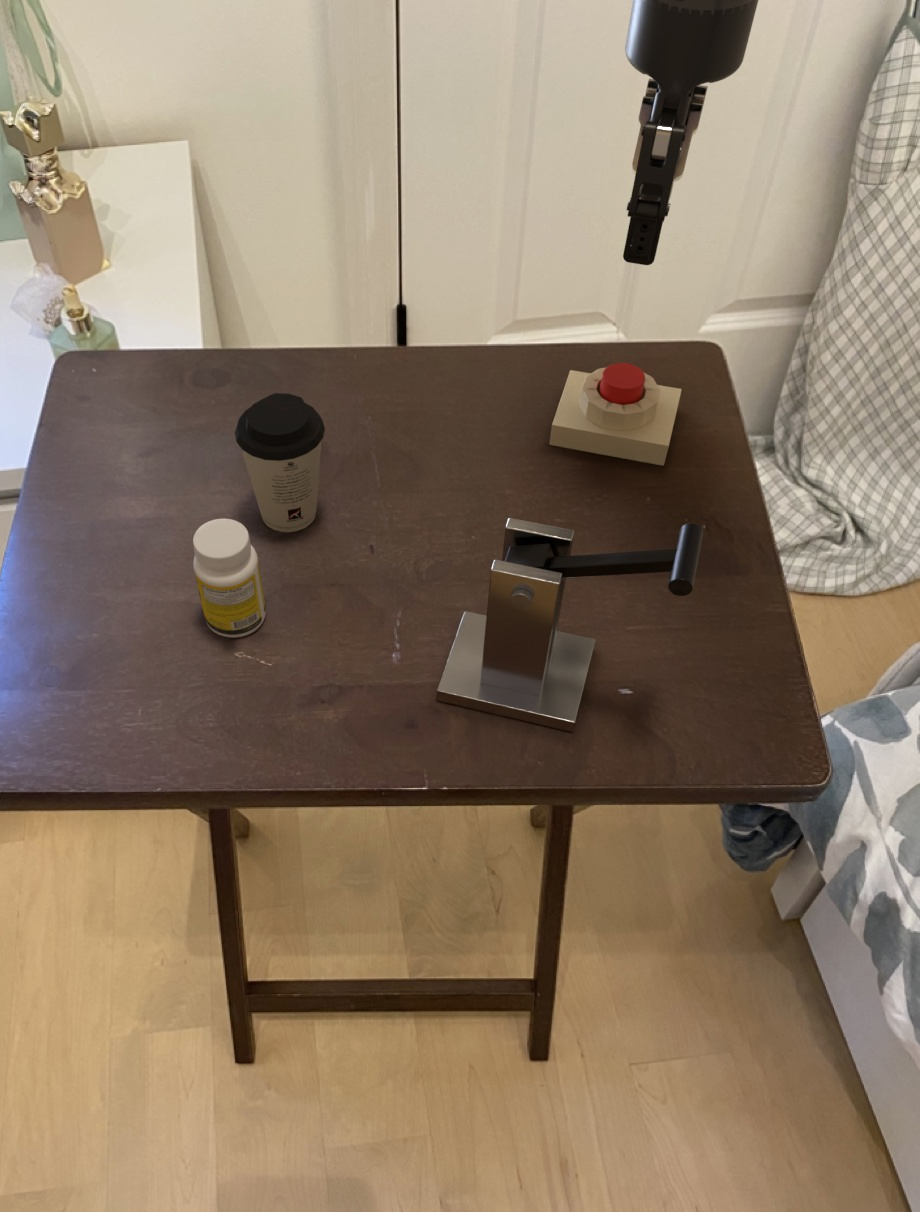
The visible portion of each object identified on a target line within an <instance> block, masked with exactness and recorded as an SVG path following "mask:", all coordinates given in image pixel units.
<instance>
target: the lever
mask: <svg viewBox="0 0 920 1212" xmlns="http://www.w3.org/2000/svg"><path fill="white" fill-rule="evenodd" d="M703 538H704V529H703V527H702V526H700V525H699V524H697V523H694V522H689V523H685V524H683V525H682V526H681V527H680V528H679V532H678V536H677V541H676V546H675V548H659V549H647V550H645V549H644V550H633V551H631V550H630V551H618V552H604V553H590V554H576V555H574V554H573V555H570V556H560V557H554V555H553V552H552V549H551V546H550V544H549V543H547V544H534V545H522V546H510V547H509V550H508V553H507V556H506V559H505V562H510V563H515V564H520V565H525V566H529V567H534V568H539V569H544V570H549V571H554V572H558V573H562V578H566V579H574V578H575V579H576V578H589V577H590V578H591V577H605V576H607V577H608V576H620V575H621V576H622V575H638V574H639V575H640V574H654V573H655V574H657V573H670V575H669V580H668V585H667V588H668V591H669V592H670V593H671V594H673V595H674V596H678V597H685V596H688V595H690V594H691V593H692V592H693V590H694V586H695V581H696V580H695V579H696V574H697V568H698V563H699V559H700V553H701V548H702V542H703Z"/></svg>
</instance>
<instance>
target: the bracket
mask: <svg viewBox="0 0 920 1212" xmlns="http://www.w3.org/2000/svg"><path fill="white" fill-rule="evenodd" d="M574 536H575V530H573V529H568V528H563V527H559V526H553V525H548V524H544V523H543V524H542V523H538V522H534V521H528V520H524V519H518V518H514V517H513V518H512V517H509V518H507V521H506V525H505V530H504V537H503V539H504V540H503V547H502V556H501V559H500V560H499V559H494V560H493V562H492V566H491V567H490V574H489V586H488V587H489V588H488V597H487V605H486V606H487V607H486V615H485V614H481V613H476V612H472V611H468V610H464V612H463V615H462V618H461V621H460V623H459V626H458V629H457V632H456V635H455V638H454V641H453V642H452V643H453V644H452V647H451V648H450V652H449V655H448V658H447V660H446V664H445V666H444V669H443V672H442V674H441V678H440V680H439V684H438V687H437V688H436V701H437V702H441V703H445V704H449V705H450V704H451V705H455V706H458V707H464V708H467V709H471V710H476V711H480V712H485V713H489V714H493V715H497V716H501V717H506V718H511V719H514V720H518V721H524V722H527V723H532V724H536V725H540V726H544V727H548V728H552V729H557V730H562V731H565V732H570V733H573V732H574V729H575V725H576V722H577V718H578V715H579V709H580V705H581V702H582V698H583V694H584V691H585V690H584V689H585V685H586V683H587V682H586V681H587V677H588V673H589V669H590V665H591V662H592V657H593V653H594V650H595V645H596V638H592V637H587V636H583V635H579V634H573V633H569V632H564V631H559V630H558V628H559V622H560V616H561V612H562V605H563V599H564V593H565V587H566V582H567V578H562V573H558V572H554V571H549V570H544V569H539V568H534V567H529V566H525V565H520V564H515V563H510V562H505V559H506V556H507V553H508V550H509V547H510V546H522V545H534V544H547V543H549V544H550V546H551V549H552V552H553V555H554V557H560V556H571V554H572V548H573V543H574Z"/></svg>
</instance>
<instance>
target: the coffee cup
mask: <svg viewBox="0 0 920 1212" xmlns="http://www.w3.org/2000/svg"><path fill="white" fill-rule="evenodd" d="M325 431H326V427H325V423H324V419H323V418H322V416H320V414H319V413H318V411H317V410H316V409H315V407H313V406H312V405H309V404H308V403H306V402H305V401H304V399H303V398H302V396H298V395H295V394H292V393H283V392H282V393H281V392H280V393H279V392H274V393H272V394H269V395H267V396H266V397H263V398H262V399H259V401H256V402H254V403H253V404H252V405H251V406H250V407H248V408H247V409H245V411H244V412H243V413H242V414H241V415H240V417H238V420H237V423H236V427H235V430H234V437H235V442H236V444H237V445H238V446H239V447H240V449H241V452H242V455H243V459H244V463H245V466H246V469H247V472H248V475H249V479H250V482H251V486H252V489H253V493H254V496H255V500H256V502H257V505H258V508H259V512H260V515H261V519H262V521H263V523H264V524H265V525H266V526H267V527H268V528H270V529H271V530H273V531H277V532H280V533H293V532H299V531H301V530H304V529H306V528H307V527H309V526H310V525H311V524H312V523H313V521H314V520H315V519H316V517H317V516H316V515H317V510H318V496H319V494H318V493H319V481H320V468H321V467H320V466H321V452H322V440H323V439H324V437H325Z"/></svg>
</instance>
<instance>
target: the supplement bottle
mask: <svg viewBox="0 0 920 1212" xmlns="http://www.w3.org/2000/svg"><path fill="white" fill-rule="evenodd" d="M192 544H193V552H194V557H193V562H192V563H193V564H192V566H193V567H192V568H193V572H194V577H195V582H196V585H197V590H198V594H199V598H200V603H201V607H202V612H203V615H204V620H205V622H206V625H207V626H208V628H209V629H210V630H211V631H212V632H213V633H215V634H217V635H219V636H220V637H221V636H222V637H226V638H243V637H245V636H249V635H250V634H252V633H254V632H256V631H257V630H258V629H259V628H260V627H261V626H262V624H263V623H264V621H265V619H266V614H267V607H266V601H265V594H264V589H263V582H262V577H261V570H260V564H259V563H260V562H259V557H258V554H257V552H256V549H255V547H254V546H253V545H252V544H251V539H250V533H249V531H248V528H246V526H245V525H244V524H243V523H241V522H239V521H238V520H235V519H231V518H215V519H212V520H209V521H206V522H205V523H203V524H202V525H200V526H199V527H198V528H197V530H196V531H195V533H194V534H193V539H192Z"/></svg>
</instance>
